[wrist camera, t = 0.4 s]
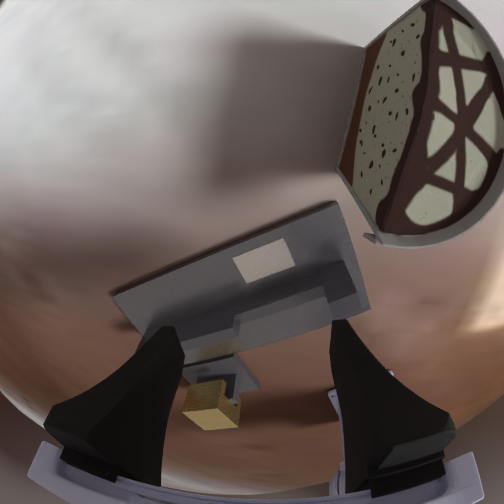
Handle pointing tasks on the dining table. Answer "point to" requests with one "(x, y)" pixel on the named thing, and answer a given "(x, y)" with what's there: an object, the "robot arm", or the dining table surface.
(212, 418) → the clip
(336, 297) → the rail
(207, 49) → the dining table surface
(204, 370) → the grey finned base plate
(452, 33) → the food container
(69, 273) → the dining table surface
